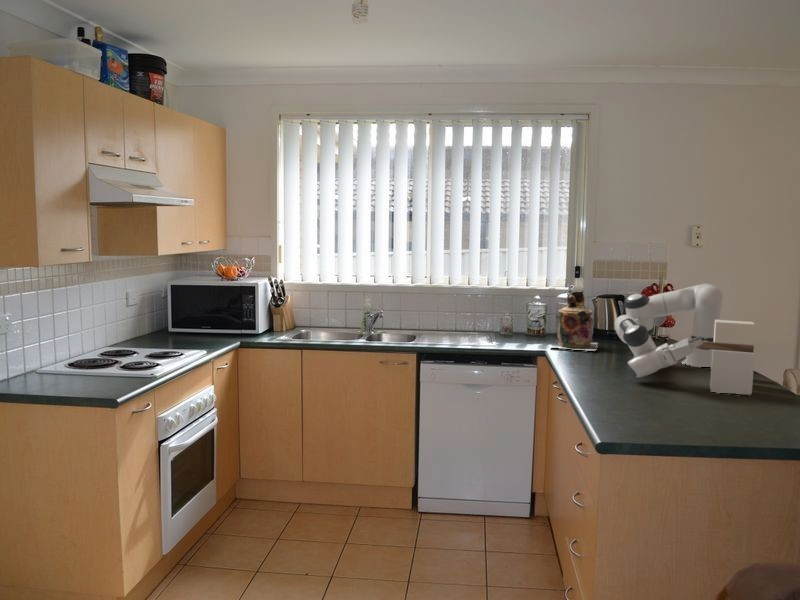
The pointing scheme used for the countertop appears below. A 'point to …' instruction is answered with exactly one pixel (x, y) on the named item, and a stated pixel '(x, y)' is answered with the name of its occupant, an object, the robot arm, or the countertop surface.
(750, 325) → the tall stand
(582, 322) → the cookie jar
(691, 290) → the robot arm
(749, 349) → the bar
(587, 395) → the countertop surface
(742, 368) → the low stand
